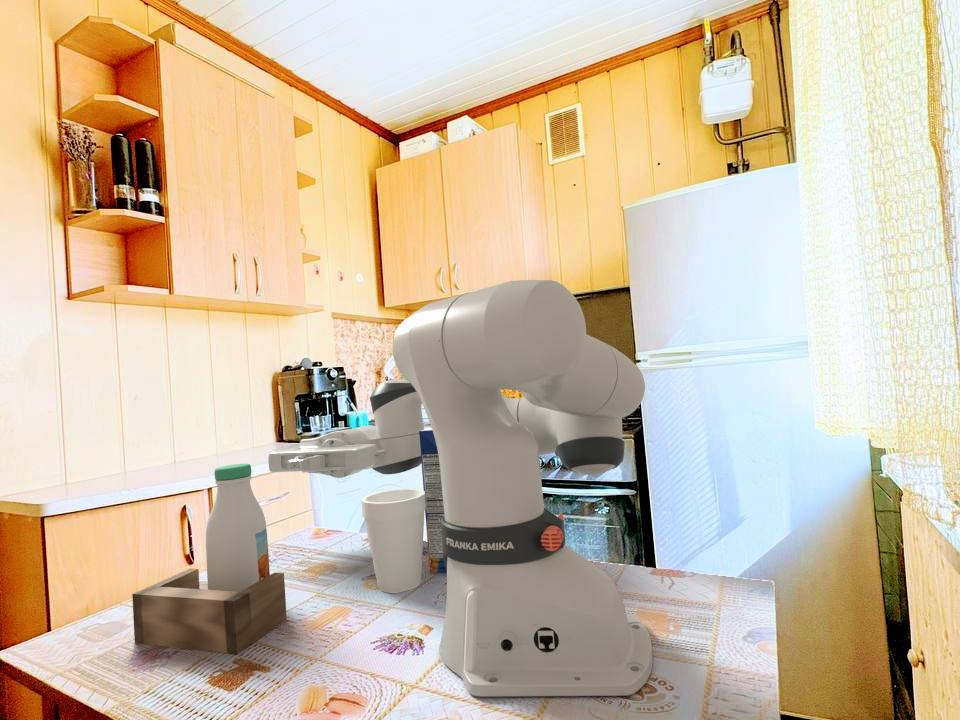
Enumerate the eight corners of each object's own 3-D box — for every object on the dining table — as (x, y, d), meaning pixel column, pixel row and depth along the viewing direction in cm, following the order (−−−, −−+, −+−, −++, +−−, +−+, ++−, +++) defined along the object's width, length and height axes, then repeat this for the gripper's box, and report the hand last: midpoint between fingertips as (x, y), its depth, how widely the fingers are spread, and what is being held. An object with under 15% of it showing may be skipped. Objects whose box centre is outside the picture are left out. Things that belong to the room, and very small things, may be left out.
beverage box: (429, 573, 77) (418, 431, 78) (449, 549, 88) (440, 424, 89) (472, 573, 76) (460, 428, 77) (487, 549, 86) (477, 421, 87)
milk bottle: (247, 625, 64) (237, 469, 65) (196, 624, 66) (187, 472, 67) (283, 599, 72) (274, 459, 73) (236, 599, 73) (228, 462, 75)
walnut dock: (286, 619, 65) (283, 572, 65) (237, 654, 57) (234, 601, 57) (192, 611, 70) (190, 568, 70) (134, 642, 62) (132, 593, 62)
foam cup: (412, 600, 68) (405, 504, 69) (355, 595, 71) (348, 503, 72) (441, 573, 77) (435, 488, 78) (389, 570, 80) (383, 488, 81)
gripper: (391, 468, 93) (350, 483, 80) (299, 471, 99) (247, 485, 86) (389, 434, 93) (347, 443, 80) (297, 439, 99) (245, 448, 86)
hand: (294, 465), depth 83 cm, fingers closed
